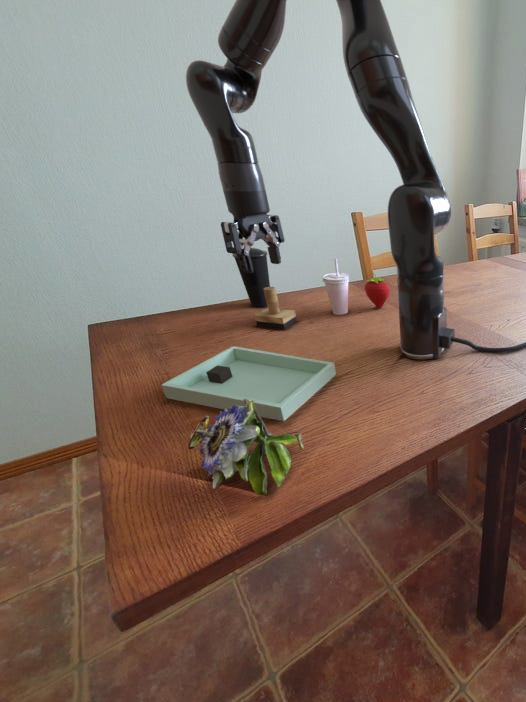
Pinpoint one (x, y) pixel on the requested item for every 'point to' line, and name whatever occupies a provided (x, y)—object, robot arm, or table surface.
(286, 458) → the passion flower
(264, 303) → the drinking cup
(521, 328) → the table surface
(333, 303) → the smoothie
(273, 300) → the brush
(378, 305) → the strawberry
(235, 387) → the tray
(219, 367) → the crumb
